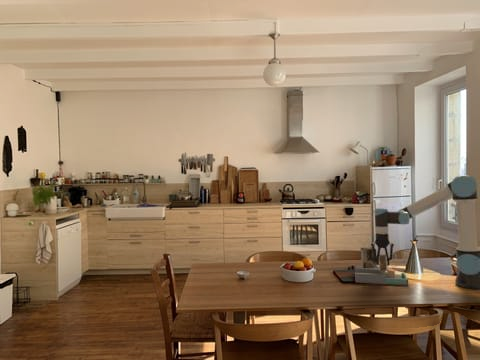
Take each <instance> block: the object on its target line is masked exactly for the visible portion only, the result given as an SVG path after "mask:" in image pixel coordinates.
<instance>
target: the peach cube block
mask: <svg viewBox="0 0 480 360" xmlns="http://www.w3.org/2000/svg"><path fill="white" fill-rule="evenodd" d="M386 272H387V274H386V275H387V276H388V277H392V278H394V275H395V273H396V270H395V269H393V268H388V271H386Z"/></svg>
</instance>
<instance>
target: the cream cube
mask: <svg viewBox="0 0 480 360" xmlns="http://www.w3.org/2000/svg"><path fill="white" fill-rule="evenodd" d="M401 273H402V272H395V275H394V278H398V279H402V274H401Z"/></svg>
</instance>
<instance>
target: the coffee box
mask: <svg viewBox="0 0 480 360" xmlns="http://www.w3.org/2000/svg"><path fill="white" fill-rule="evenodd" d="M375 257H377V249H376V248H375ZM360 262H361V266H360V268H373V269H378V265H377V260H376V259H374V258H373V249H372V246H371V247H370V246H369V247H360Z"/></svg>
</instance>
